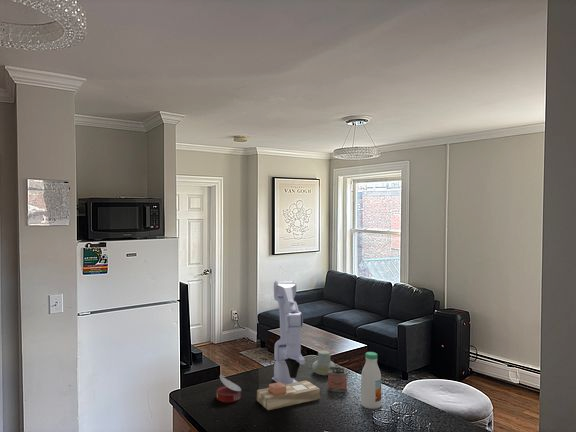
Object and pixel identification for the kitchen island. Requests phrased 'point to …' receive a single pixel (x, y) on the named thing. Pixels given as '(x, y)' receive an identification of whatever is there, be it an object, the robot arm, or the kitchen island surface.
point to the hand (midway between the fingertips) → (293, 377)
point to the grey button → (299, 387)
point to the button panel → (288, 396)
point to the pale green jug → (323, 363)
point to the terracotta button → (277, 388)
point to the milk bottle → (371, 382)
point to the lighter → (337, 379)
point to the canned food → (228, 391)
